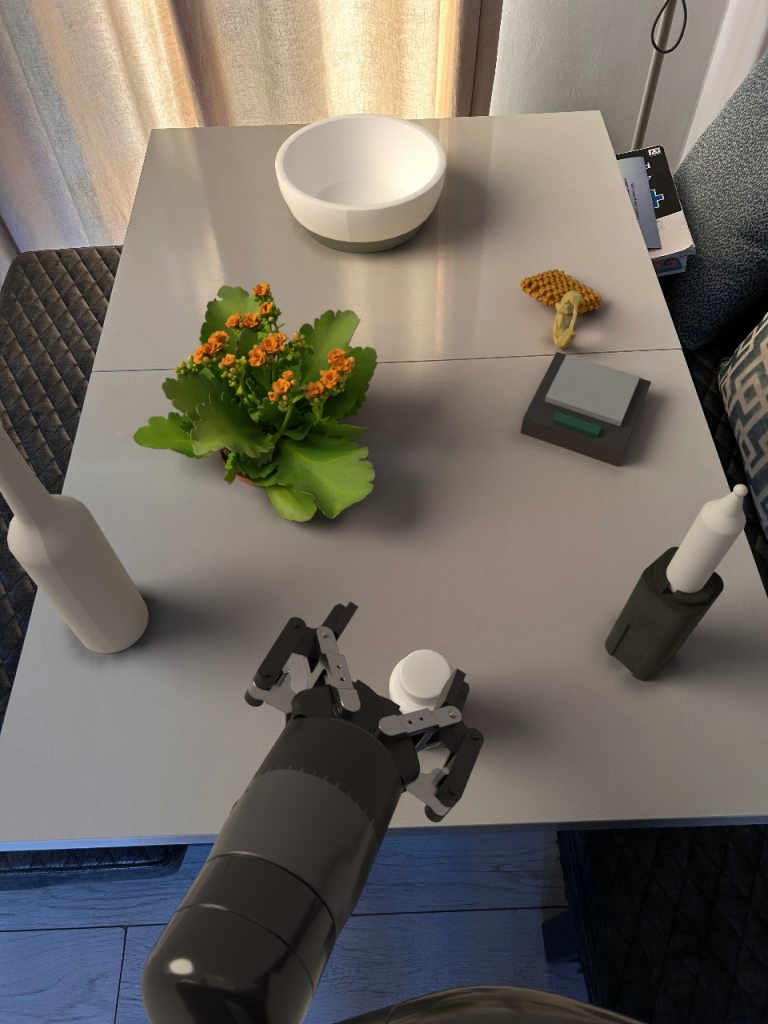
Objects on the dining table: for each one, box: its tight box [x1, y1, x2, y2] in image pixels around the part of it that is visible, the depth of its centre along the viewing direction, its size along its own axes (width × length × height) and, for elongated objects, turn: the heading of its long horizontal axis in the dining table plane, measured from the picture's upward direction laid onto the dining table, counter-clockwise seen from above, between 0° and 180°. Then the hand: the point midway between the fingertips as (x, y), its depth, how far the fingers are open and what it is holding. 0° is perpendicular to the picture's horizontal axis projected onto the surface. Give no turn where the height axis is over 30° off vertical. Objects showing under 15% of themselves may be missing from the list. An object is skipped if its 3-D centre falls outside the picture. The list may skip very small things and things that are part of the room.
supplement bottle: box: [388, 648, 456, 750], centre depth 62 cm, size 6×6×10 cm
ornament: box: [519, 268, 602, 349], centre depth 92 cm, size 7×10×15 cm
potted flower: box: [132, 282, 378, 523], centre depth 76 cm, size 25×24×18 cm
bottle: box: [0, 417, 150, 655], centre depth 60 cm, size 7×7×28 cm
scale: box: [520, 351, 652, 467], centre depth 84 cm, size 11×11×3 cm
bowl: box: [274, 112, 448, 254], centre depth 103 cm, size 22×22×8 cm
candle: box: [604, 483, 749, 682], centre depth 59 cm, size 5×5×25 cm
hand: (402, 644), depth 52 cm, fingers open, 8 cm apart
